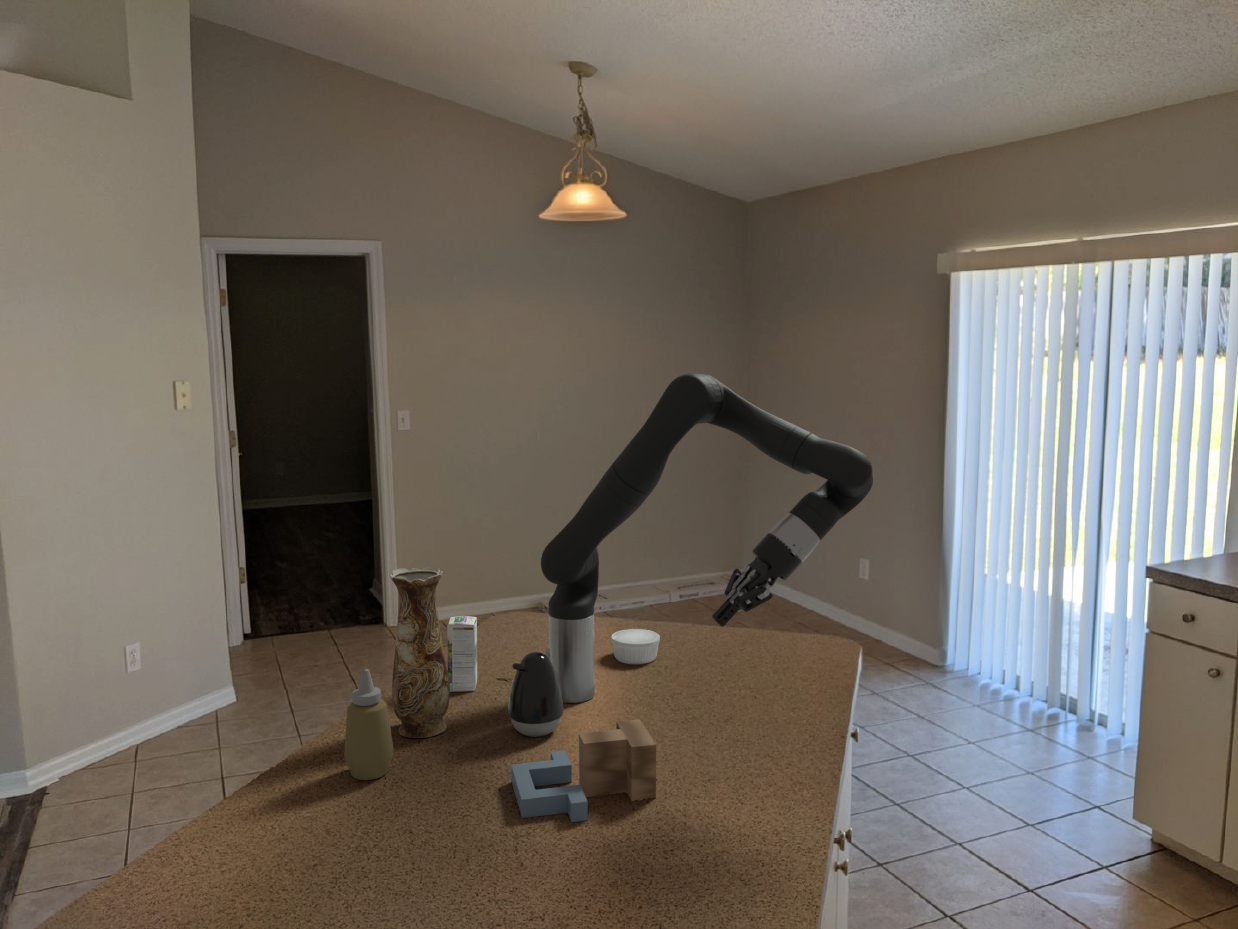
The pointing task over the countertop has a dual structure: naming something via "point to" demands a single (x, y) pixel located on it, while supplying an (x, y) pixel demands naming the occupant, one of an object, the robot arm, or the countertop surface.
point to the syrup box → (462, 653)
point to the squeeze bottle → (368, 732)
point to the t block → (618, 761)
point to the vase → (419, 655)
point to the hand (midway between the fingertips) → (716, 622)
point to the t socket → (550, 798)
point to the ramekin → (635, 646)
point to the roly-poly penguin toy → (535, 696)
